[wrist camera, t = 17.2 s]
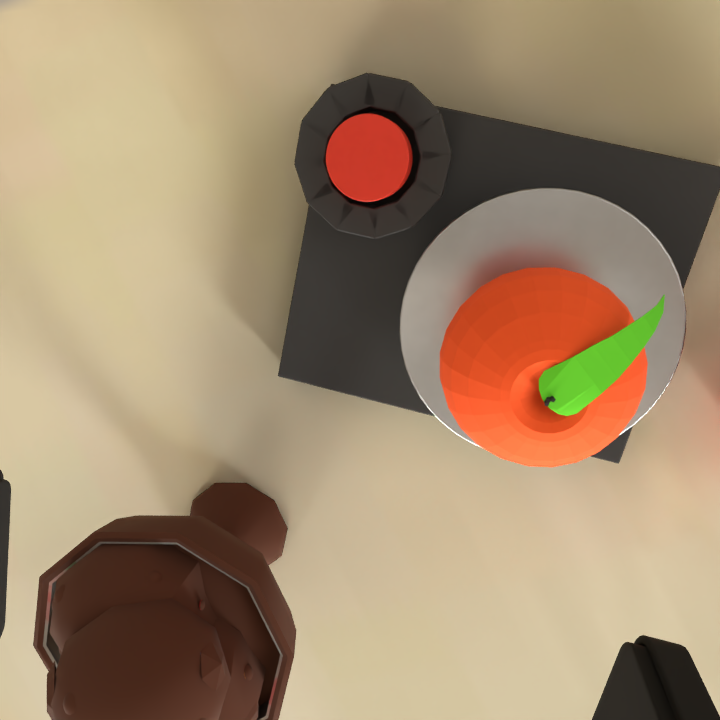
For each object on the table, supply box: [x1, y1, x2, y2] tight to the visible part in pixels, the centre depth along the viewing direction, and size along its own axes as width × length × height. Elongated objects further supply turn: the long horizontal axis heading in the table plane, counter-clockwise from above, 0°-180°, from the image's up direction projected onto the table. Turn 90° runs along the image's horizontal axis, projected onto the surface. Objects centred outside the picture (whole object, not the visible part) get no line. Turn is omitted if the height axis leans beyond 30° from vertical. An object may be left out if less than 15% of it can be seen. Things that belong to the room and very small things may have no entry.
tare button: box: [326, 114, 413, 202], centre depth 26 cm, size 3×3×2 cm
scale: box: [278, 73, 720, 463], centre depth 28 cm, size 16×14×3 cm
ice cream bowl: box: [33, 483, 296, 720], centre depth 28 cm, size 11×11×15 cm
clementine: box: [440, 267, 665, 467], centre depth 23 cm, size 8×7×7 cm
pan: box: [400, 187, 686, 448], centre depth 27 cm, size 11×11×1 cm
